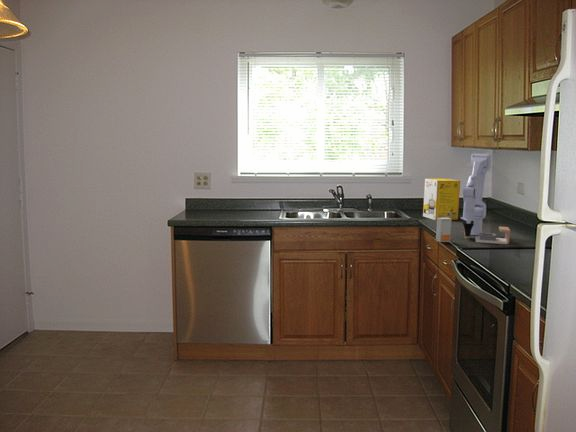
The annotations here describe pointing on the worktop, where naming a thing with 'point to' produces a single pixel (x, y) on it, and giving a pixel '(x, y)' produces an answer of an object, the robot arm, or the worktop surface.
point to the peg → (467, 236)
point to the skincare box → (443, 229)
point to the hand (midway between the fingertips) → (467, 235)
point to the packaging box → (441, 198)
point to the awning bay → (494, 237)
